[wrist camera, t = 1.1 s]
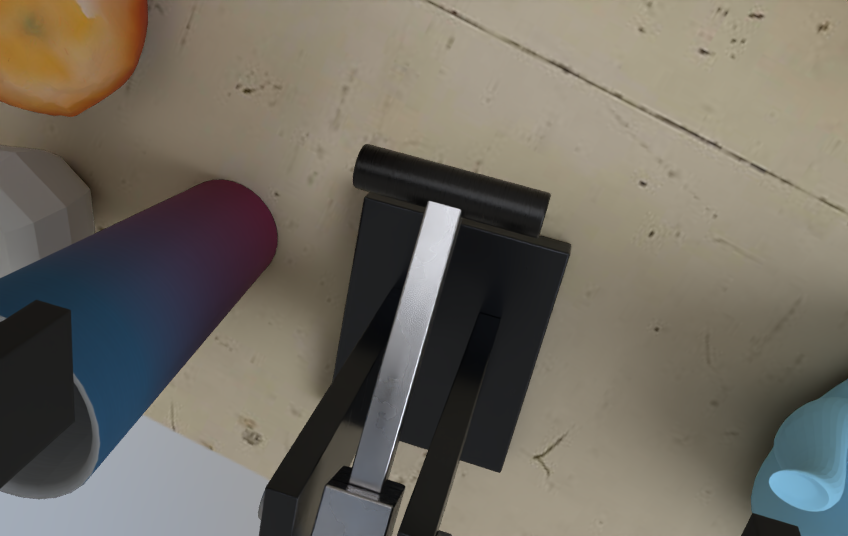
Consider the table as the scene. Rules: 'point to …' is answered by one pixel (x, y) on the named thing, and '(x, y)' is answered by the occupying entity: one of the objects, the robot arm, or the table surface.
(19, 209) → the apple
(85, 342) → the cup
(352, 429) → the bracket
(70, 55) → the fruit
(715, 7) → the table surface
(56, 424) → the robot arm
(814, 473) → the teapot
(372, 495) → the lever
